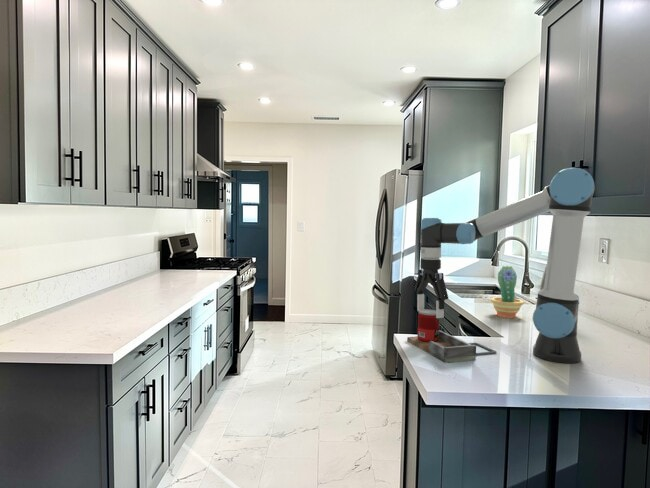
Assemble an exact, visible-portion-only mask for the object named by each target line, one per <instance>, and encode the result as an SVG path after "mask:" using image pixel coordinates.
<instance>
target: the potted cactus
mask: <svg viewBox="0 0 650 488" xmlns="http://www.w3.org/2000/svg"><path fill="white" fill-rule="evenodd" d="M517 277H518V275H517V273H516V271H515V269H514V268H513V266H509V265H506V266H505V265H503V266H502V268H500V270H499V271H498V272H497V283H498V286H499V288H500V289H499V290H500V295H501V296H494V297H491V298H490V302H491V303H492V305H493V308H494V310H495V311H496V315H497V317H501V318H507V319H508V318H509V319H512V318H516V317H517V314H518V312H520V309H521V307H522V306H523V305H524V303H525V301H524V300H522V299H519V298H515V294H516V293H515V288H516V285H517Z"/></svg>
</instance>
